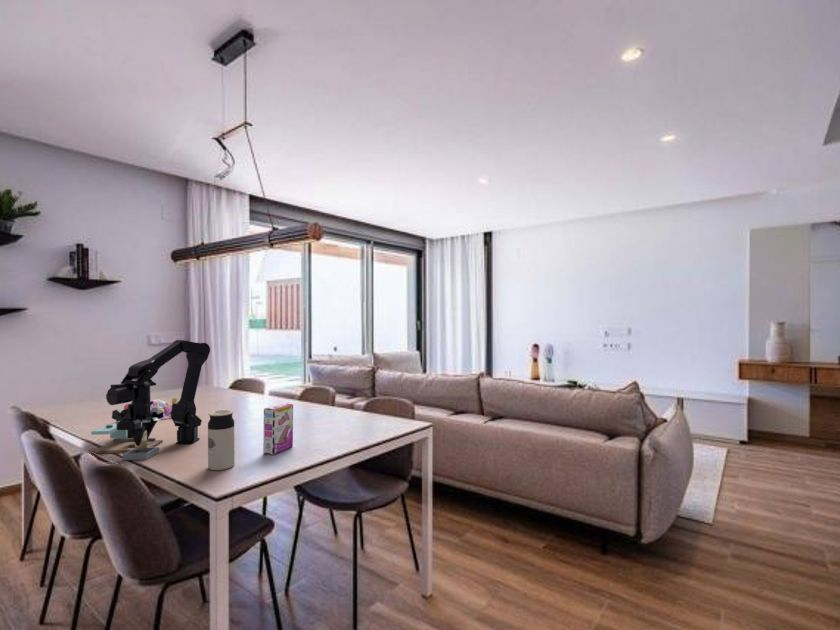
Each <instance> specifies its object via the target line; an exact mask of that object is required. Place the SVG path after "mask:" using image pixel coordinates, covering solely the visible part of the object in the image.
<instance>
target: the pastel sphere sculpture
mask: <svg viewBox="0 0 840 630" xmlns="http://www.w3.org/2000/svg"><path fill="white" fill-rule="evenodd" d="M151 401H153V404H152V405H150V409H151V410H161V411H162V412H163V418H161V419H158V418H153V419H154V421H157V422H160V421H163V419H165V420H172V419H171V414H170V413H171V411H172V405H173V404H177V403H178V402H179V401H178V397H172V399H171V403H169V402H168V401H164V400H163V399H160V398H158V399H157V398H156V399H152V400H151ZM129 404H130V403H125V405H124V406H123V410H125V409H128V405H129ZM159 420H160V421H159Z"/></svg>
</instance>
